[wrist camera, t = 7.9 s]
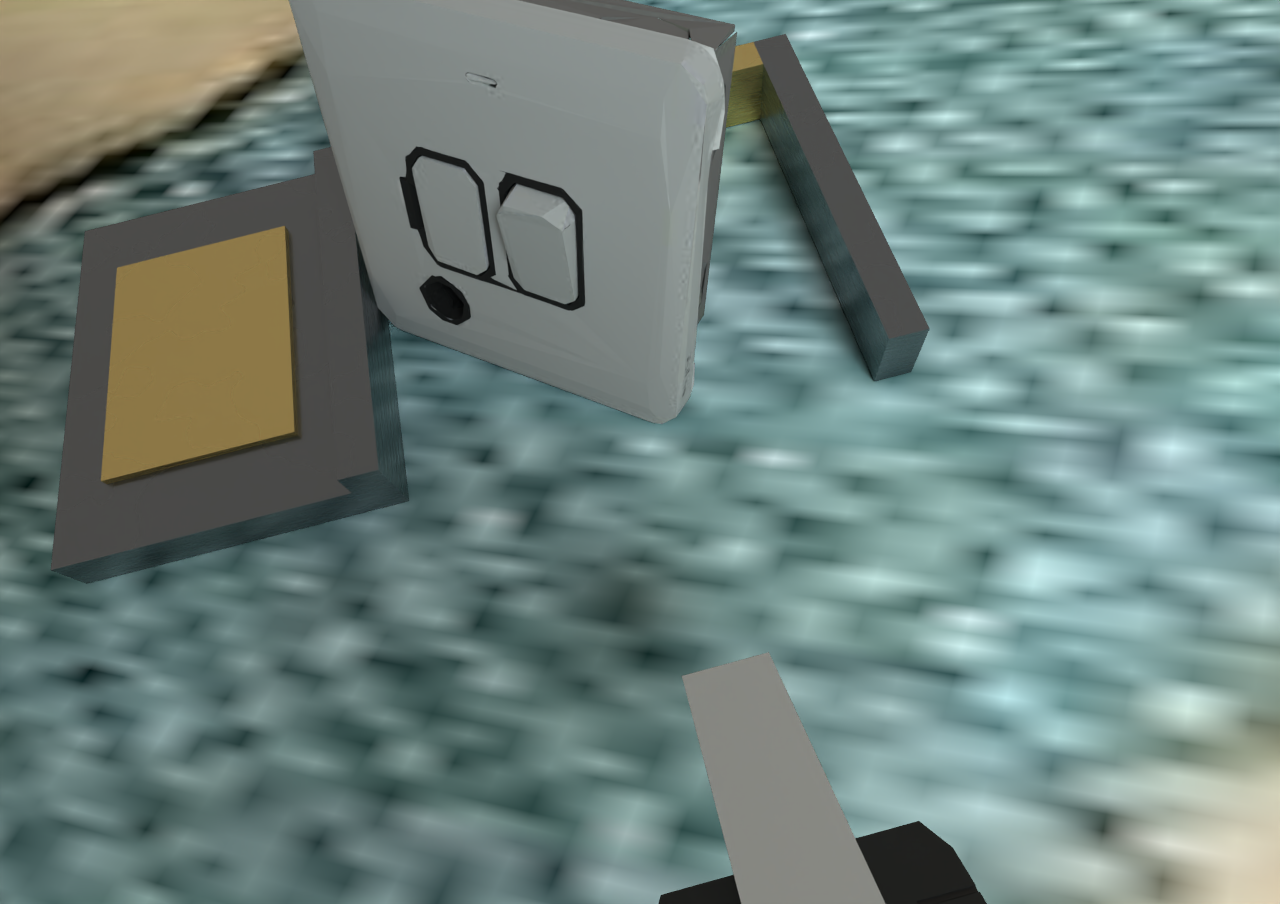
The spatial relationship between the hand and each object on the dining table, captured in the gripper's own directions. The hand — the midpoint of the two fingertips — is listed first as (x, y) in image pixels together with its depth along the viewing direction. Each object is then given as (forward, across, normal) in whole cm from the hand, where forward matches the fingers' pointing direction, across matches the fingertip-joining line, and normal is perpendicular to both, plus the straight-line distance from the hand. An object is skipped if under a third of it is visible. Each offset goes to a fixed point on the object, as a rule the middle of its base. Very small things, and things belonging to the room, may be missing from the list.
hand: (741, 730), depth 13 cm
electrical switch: (+12, -1, +6) cm, 14 cm away
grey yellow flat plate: (+12, -4, +7) cm, 14 cm away
